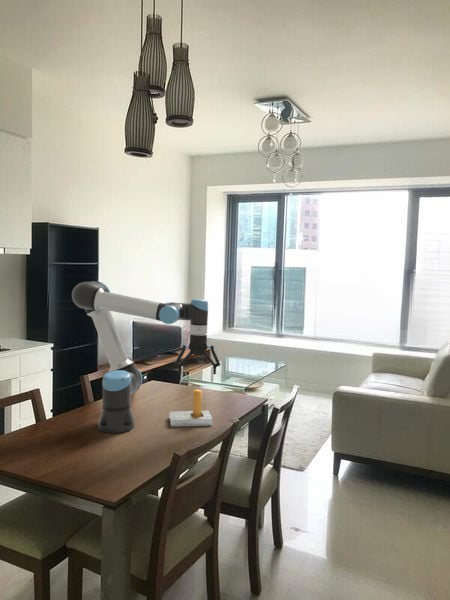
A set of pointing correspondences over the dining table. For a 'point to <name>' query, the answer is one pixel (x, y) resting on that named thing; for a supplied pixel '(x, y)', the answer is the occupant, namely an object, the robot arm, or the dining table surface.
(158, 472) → the dining table surface
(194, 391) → the pin
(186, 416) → the white peg hole block
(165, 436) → the dining table surface
